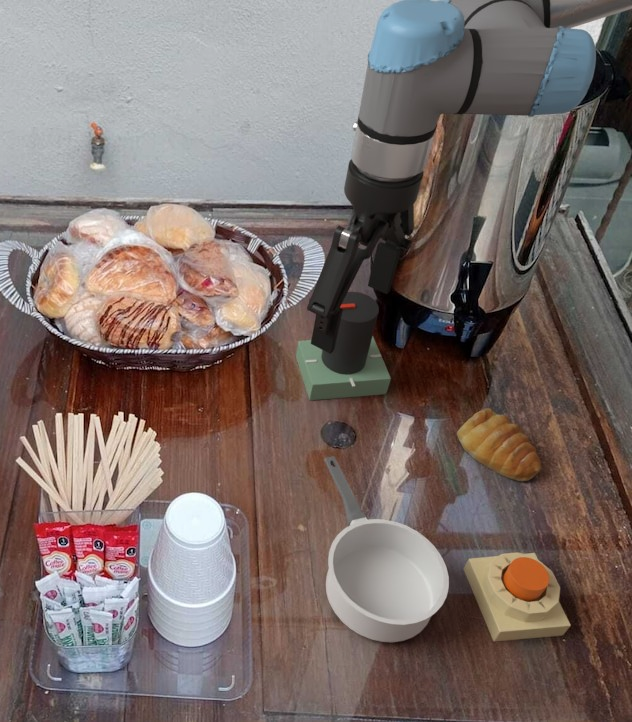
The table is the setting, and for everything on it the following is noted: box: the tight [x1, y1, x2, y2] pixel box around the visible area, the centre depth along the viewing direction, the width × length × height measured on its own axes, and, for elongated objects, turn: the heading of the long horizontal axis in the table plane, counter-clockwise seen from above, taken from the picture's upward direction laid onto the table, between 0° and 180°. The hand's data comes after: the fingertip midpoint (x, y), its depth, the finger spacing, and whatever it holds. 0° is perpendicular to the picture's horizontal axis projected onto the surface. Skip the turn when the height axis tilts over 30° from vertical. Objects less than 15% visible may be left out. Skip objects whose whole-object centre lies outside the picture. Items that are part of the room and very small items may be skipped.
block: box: [463, 551, 572, 642], centre depth 77 cm, size 7×8×4 cm
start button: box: [504, 557, 549, 601], centre depth 75 cm, size 4×4×2 cm
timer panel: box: [295, 335, 392, 401], centre depth 100 cm, size 10×10×3 cm
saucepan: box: [323, 455, 450, 643], centre depth 81 cm, size 12×20×6 cm, turn 13°
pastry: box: [456, 407, 542, 482], centre depth 90 cm, size 9×7×4 cm
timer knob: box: [321, 291, 380, 374], centre depth 96 cm, size 6×6×9 cm
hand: (351, 317), depth 94 cm, fingers open, 13 cm apart
